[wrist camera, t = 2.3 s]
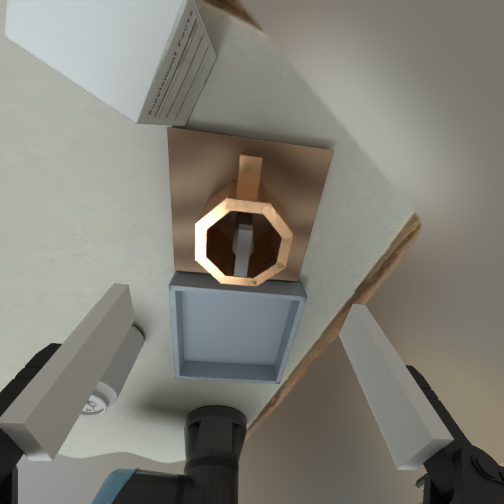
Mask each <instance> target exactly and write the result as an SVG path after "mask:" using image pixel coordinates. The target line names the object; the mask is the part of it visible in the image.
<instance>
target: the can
mask: <svg viewBox="0 0 504 504" xmlns="http://www.w3.org/2000/svg"><path fill="white" fill-rule="evenodd" d="M143 343H144V339H143V336H142V334H141V333H140V331H139V330H138V329H137V328H136V327H135V326H133V325H132V326H131V328H130V329H129V331H128V333H127V334H126V336H125V338H124V340H123V341H122V343H121V345H120V346H119V348H118V350H117V352H116V353H115V355H114V357H113V358H112V360H111V362H110V364H109V365H108V367H107V369H106V370H105V372H104V374H103V376H102V377H101V379H100V381H99V382H98V384H97V386H96V388H95V389H94V391H93V393H92V394H91V396H90V398H89V400H88V401H87V403H86V405H85V406H84V408H83V410H82V412H81V413H80V415H79V416H82V417H94V416H99V415H101V414H103V413H104V412H105V411H106V410H107V407H109V406H110V405H112V404H113V403H114V402H115V401H116V400H117V398H118V396H119V394H120V392H121V390H122V388H123V386H124V383H125V381H126V379H127V377H128V375H129V373H130V371H131V369H132V367H133V365H134V363H135V361H136V359H137V356H138V354H139V352H140V350H141V348H142V346H143Z"/></svg>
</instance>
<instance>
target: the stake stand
mask: <svg viewBox="0 0 504 504" xmlns="http://www.w3.org/2000/svg"><path fill="white" fill-rule="evenodd" d="M167 131H168V150H169V169H170V188H171V208H172V227H173V246H174V265H175V270H178V271H189V272H200V273H209V272H208V271H207V270H206V269H205V268H204V267H203V266H202V265H201V264H200V263H199V262H197V261H196V260H195V223H196V221H197V220H198V218H199V216H200V214H201V212H202V210H203V209H204V207H205V205H206V203H207V201H208V199H210V198H211V197H212V196H213V195H215V194H216V193H217V192H218V191H219V190H221V189H222V188H223V187H224V186H225V185H227V184H228V183H229V182H230V181H231V180H238V171H239V160H240V154H247V155H254V156H262V158H263V159H262V166H261V174H260V181H259V183H262V184H264V185H265V186H266V187H267V189H268V190H269V192H270V193H271V194H272V196H273V197H274V198H275V200H276V201H277V202H278V204H279V205H280V207H281V208H282V210H283V212H284V214H285V216H286V219H287V221H288V223H289V225H290V227H291V230H292V232H293V234H294V235H293V238H292V243H291V247H290V251H289V255H288V260H287V264H286V268H285V269H283V270H282V271H280V272H278V273H277V274H275V275H274V276H272V277H270V278H269V279H278V280H289V281H297V280H298V277H299V273H300V270H301V266H302V262H303V259H304V255H305V252H306V248H307V244H308V241H309V237H310V233H311V230H312V226H313V223H314V219H315V215H316V212H317V208H318V205H319V201H320V197H321V194H322V190H323V186H324V183H325V179H326V176H327V172H328V168H329V165H330V161H331V158H332V154H333V150H330V149H324V148H316V147H309V146H302V145H295V144H288V143H281V142H274V141H267V140H260V139H252V138H245V137H238V136H231V135H224V134H217V133H210V132H203V131H195V130H188V129H181V128H174V127H167ZM270 224H271V223H270V222H269V220H268V219H267V218H266V216H265V215H264V214H259V213H250V212H241V211H232V210H231V211H229V212H228V213H227V214H225V215H224V216H223V217H222V218H220V219H219V220H218V221H217V222H216V226H217V227H218V229H219V230H220V231H221V232H222V233H223V234H224V235H225V236H226V237H227V238H228V239H229V240H230V241H232V242H233V248H232V249H233V252H234V253H235V255H236V260H235V269H234V276H241V277H247V270H248V263H249V256H250V255H251V254H252V252H253V250H254V246H253V242H255V241H256V240H258V239H259V238H260V237H262V236H263V235H265V234H266V233H268V232H269V230H270Z"/></svg>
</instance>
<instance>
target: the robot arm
mask: <svg viewBox="0 0 504 504" xmlns="http://www.w3.org/2000/svg"><path fill="white" fill-rule="evenodd" d="M134 321H135V317H134V312H133V307H132V301H131V296H130V291H129V285H127V284H115V283H114V284H113V285H112V287H111V288H110V289H109V290H108V291H107V292H106V294H105V295H104V296H103V297H102V298H101V299H100V301H99V302H98V303H97V304H96V305H95V306H94V308H93V309H92V310H91V311H90V312H89V314H88V315H87V316H86V317H85V318H84V319H83V321H82V322H81V323H80V324H79V325H78V326H77V328H76V329H75V330H74V331H73V332H72V333H71V335H70V336H69V337H68V338H67V339H66V341H65V342H64V343H63V344H56V343H51V344H50V345H48V346H47V347H45V348H44V349H42V350H41V351H40V352H38V353H37V354H36V355H35V356H34V357H33V358H32V359H31V360H30V361H29V362H28V363H27V364H26V365H25V368H23V369H22V370H21V371H20V372H19V373H18V374H17V375H16V376H15V379H12V380H11V382H10V383H9V384H8V385H7V386H6V387H5V388H4V389H3V390H2V391H1V392H0V504H18V469H17V466H16V464H17V463H18V461H19V460H20V458H21V457H22V455H23V454H25V455H26V457H27V458H28V459H29V460H39V461H53V460H54V458H55V456H56V454H57V453H58V451H59V449H60V448H61V446H62V444H63V442H64V441H65V439H66V437H67V436H68V434H69V432H70V430H71V429H72V427H73V425H74V424H75V422H76V420H77V418H78V417H79V415H80V413H81V412H82V410H83V408H84V406H85V405H86V403H87V401H88V400H89V398H90V396H91V394H92V393H93V391H94V389H95V388H96V386H97V384H98V382H99V381H100V379H101V377H102V376H103V374H104V372H105V370H106V369H107V367H108V365H109V364H110V362H111V360H112V358H113V357H114V355H115V353H116V352H117V350H118V348H119V346H120V345H121V343H122V341H123V340H124V338H125V336H126V334H127V333H128V331H129V329H130V328H131V326H132V324H133V322H134ZM339 337H340V339H341V341H342V344H343V346H344V348H345V351H346V353H347V355H348V357H349V360H350V362H351V364H352V367H353V369H354V371H355V373H356V376H357V378H358V380H359V383H360V385H361V387H362V389H363V392H364V394H365V396H366V398H367V401H368V403H369V405H370V407H371V410H372V412H373V414H374V417H375V419H376V421H377V424H378V426H379V428H380V430H381V433H382V435H383V437H384V439H385V442H386V444H387V446H388V449H389V451H390V453H391V456H392V457H393V460H394V462H395V465H396V467H397V469H398V470H416V469H417V468H419V467H420V466H421V465H422V464H423V465H424V466H425V468H426V470H427V472H428V473H427V474H425V475H424V476H422V477H421V478H420V479H418V480H417V482H416V486H417V487H418V488H419V487H421V486H422V485H423V484H424V491H423V492H424V497H423V504H504V467H502V466H499V465H498V464H497V462H496V461H495V460H494V459H493V458H492V457H491V456H489V455H488V454H487V453H485V452H484V451H483V450H481V449H479V448H477V447H475V446H473V445H472V444H471V443H470V442H469V441H468V439H467V438H466V437H465V435H464V434H463V432H462V431H461V430H460V428H459V427H458V425H457V424H456V422H455V421H454V420H453V418H452V417H451V415H450V414H449V412H448V411H447V410H446V409H445V407H444V405H443V404H442V403H441V401H439V400H438V397H437V395H436V394H435V393H434V391H433V390H431V387H430V386H429V384H428V383H427V381H426V380H425V379H424V377H423V376H422V375H421V374H420V373H419V372H418V371H417V370H416V369H415V368H414V367H413V366H408V365H405V364H404V363H403V362H402V360H401V359H400V357H399V356H398V354H397V352H396V351H395V349H394V348H393V346H392V345H391V343H390V342H389V340H388V339H387V337H386V336H385V334H384V333H383V331H382V330H381V328H380V327H379V325H378V324H377V322H376V321H375V319H374V318H373V316H372V315H371V313H370V312H369V310H368V309H367V307H366V306H365V305H361V304H353V305H352V307H351V309H350V311H349V313H348V316H347V318H346V320H345V322H344V324H343V326H342V329H341V331H340V333H339ZM246 432H247V420H246V417H245V416H244V415H243V414H242V413H241V412H239V411H237V410H235V409H232V408H229V407H223V406H208V407H203V408H199V409H196V410H194V411H193V412H191V413H190V414H189V415H188V416H187V418H186V423H185V428H184V437H185V453H186V463H185V469H184V474H183V475H180V474H172V473H163V472H156V471H148V470H141V469H139V468H135V469H122V468H119V469H116V470H115V471H113V472H112V473H111V474H110V475H109V476H108V477H107V478H106V480H105V481H104V483H103V484H102V486H101V488H100V489H99V491H98V493H97V495H96V497H95V499H94V500H93V502H92V504H238V471H239V470H238V469H239V459H240V455H241V452H242V448H243V444H244V440H245V436H246Z"/></svg>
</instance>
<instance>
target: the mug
mask: <svg viewBox="0 0 504 504" xmlns="http://www.w3.org/2000/svg"><path fill="white" fill-rule="evenodd" d="M262 159H263V158H262V156H254V155H247V154H240V160H239V171H238V180H231V181H230V182H229V183H228V184H227V185H225V186H224V187H223V188H222V189H221V190H219V191H218V192H217V193H216V194H215V195H213V196H212V197H211V198H210V199H208V201H207V203H206V205H205V207H204V209H203V210H202V212H201V214H200V216H199V218H198V220H197V221H196V223H195V260H196V261H197V262H199V263H200V264H201V265H202V266H203V267H204V268H205V269H206V270H207V271H208V272H209V273H210V274H211V275H212V276H213V277H214V278H216V279H217V280H218V281H219V282H220V283H222V284H233V285H245V286H256V287H257V286H258V285H259V284H261V283H263V282H264V281H266V280H267V279H269V278H270V277H272V276H274V275H275V274H277V273H278V272H280V271H282V270H283V269H285V268H286V264H287V260H288V255H289V251H290V247H291V243H292V238H293V235H294V234H293V232H292V230H291V227H290V225H289V223H288V221H287V219H286V216H285V214H284V212H283V210H282V208H281V207H280V205H279V204H278V202H277V201H276V200H275V198H274V197H273V196H272V194H271V193H270V192H269V190H268V189H267V187H266V186H265V185H264V184H262V183H259V181H260V174H261V166H262ZM231 210H232V211H241V212H250V213H259V214H264V215H265V216H266V218H267V219H268V220H269V222H270V223H271V224H270V230H269V232H268V233H266V234H265V235H263V236H262V237H260V238H259V239H258V240H256V241H255V242H253V246H254V250H253V252H252V254H251V255H250V256H249V263H248V270H247V277H241V276H234V269H235V260H236V255H235V253H234V252H233V249H232V248H233V242H232V241H230V240H229V239H228V238H227V237H226V236H225V235H224V234H223V233H222V232H221V231H220V230H219V229H218V227H217V226H216V222H217V221H218V220H219V219H220V218H222V217H223V216H224V215H225V214H227V213H228V212H229V211H231Z"/></svg>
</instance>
